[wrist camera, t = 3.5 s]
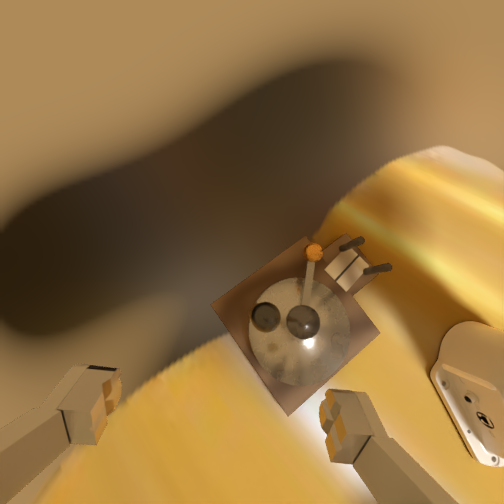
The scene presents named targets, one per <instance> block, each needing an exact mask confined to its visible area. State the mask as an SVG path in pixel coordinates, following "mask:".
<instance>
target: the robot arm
mask: <svg viewBox="0 0 504 504" xmlns="http://www.w3.org/2000/svg"><path fill="white" fill-rule="evenodd" d="M120 375H121V371H120V368H111V367H103V366H95V365H86V364H75V365H74V366H73V367H71V368H70V370H69V371H68V372H67V373H66V375H65V376H64V377H63V378H62V380H61V381H60V383H58V385H57V386H56V387H55V388H54V390H53V391H52V392H51V393H50V395H49V396H48V397H47V398H46V400H45V401H44V402H43V403H42V405H41V406H40V407H39V408H33V409H32V410H30V411H28V412H27V413H25V414H24V415H22V416H20V417H19V418H17V419H16V420H14V421H12V422H11V423H9V424H8V425H6V426H4V427H3V428H1V429H0V504H6V503H7V502H9V501H10V500H11V499H12V498H13V497H14V496H15V495H16V494H17V493H18V492H20V491H21V490H22V489H23V488H24V487H25V486H26V485H27V484H28V483H30V482H31V481H32V480H33V479H34V478H35V477H36V476H37V475H38V474H39V473H41V472H42V471H43V470H44V469H45V468H46V467H47V466H48V465H49V464H50V463H52V461H53V460H55V459H56V458H57V457H58V456H59V455H60V454H61V453H63V451H65V450H66V449H67V448H68V447H69V446H70V444H82V445H97V443H98V442H99V440H100V438H101V436H102V434H103V432H104V430H105V428H106V426H107V416H108V415H109V414H110V413H112V412H113V411H114V410H115V408H116V406H117V404H118V402H119V398H120V395H121V391H122V382H120V380H119V377H120ZM430 377H431V380H432V382H433V384H434V386H435V387H436V389H437V391H438V393H439V395H440V397H441V399H442V401H443V403H444V404H445V406H446V408H447V410H448V412H449V414H450V416H451V418H452V420H453V422H454V423H455V425H456V427H457V429H458V431H459V433H460V435H461V437H462V439H463V440H464V442H465V444H466V446H467V448H468V450H469V452H470V454H471V455H472V457H473V458H474V460H476V461H478V462H480V463H482V464H485V465H488V466H495V467H499V466H504V331H503V330H500V329H496V328H493V327H490V326H488V325H485V324H483V323H480V322H475V321H466V322H462V323H459V324H457V325H455V326H454V327H452V328H451V329H450V330H449V331H448V332H447V334H446V335H445V337H444V339H443V341H442V343H441V347H440V352H439V357H438V360H437V362H436V363H435V365H434V366H433V368H432V370H431V372H430ZM442 382H443V384H442ZM325 396H326V399H325V400H323V401H322V402H321V405H320V409H319V417H320V423H321V427H322V429H323V430H324V432H325V433H326V434H327V437H326V440H325V443H326V446H327V450H328V454H329V457H330V461H331V462H334V463H343V464H353V467H354V469H355V470H356V472H357V473H358V474H359V476H360V477H361V479H362V480H363V482H364V483H365V484H366V486H367V487H368V489H369V490H370V492H371V493H372V494H373V496H374V497H375V499H376V500H377V502H378V503H379V504H458V503H457V502H456V501H455V500H454V499H453V498H452V497H451V496H450V495H449V494H448V493H447V492H446V491H445V490H444V489H443V488H442V487H441V486H440V485H439V484H438V483H437V482H436V481H435V480H434V479H433V478H432V477H431V476H430V475H429V474H428V473H427V472H426V471H425V470H424V469H423V468H422V467H421V466H420V465H419V464H418V463H417V462H416V461H415V460H414V459H413V458H412V457H411V456H410V455H409V454H408V453H407V452H406V451H405V450H404V449H403V448H402V447H401V446H400V445H399V444H398V443H397V442H396V441H395V440H394V439H393V438H389V437H388V435H387V433H386V431H385V429H384V427H383V425H382V423H381V421H380V419H379V417H378V415H377V413H376V410H375V408H374V406H373V404H372V402H371V400H370V398H369V396H368V395H367V394H366V393H365V392H356V391H350V390H338V389H328V390H327V391H326V393H325Z"/></svg>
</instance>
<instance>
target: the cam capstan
mask: <svg viewBox="0 0 504 504" xmlns="http://www.w3.org/2000/svg"><path fill="white" fill-rule="evenodd" d="M303 256H304V258H305V259H306V260H307V261H306V268H305V275H304V278H289V279H285V280H282V281H279V282H277V283H275V284H273V285H271V286H270V287H268V288H267V289H266V290H265V291H264V292H263V293H262V294H261V295H260V296H259V298H258V299H257V300H256V302H255V304H253V305H252V306H251V307H250V308H249V310H248V316H249V325H248V334H249V340H250V344H251V348H252V350H253V353H254V355H255V357H256V358H257V360H258V362H259V363H260V365H261V366H262V367H263V368H264V369H265V370H266V372H267V373H269V374H270V375H271V376H272V377H274V378H276V379H277V380H279V381H281V382H284V383H286V384H290V385H296V386H307V385H312V384H316V383H319V382H321V381H323V380H325V379H326V378H328V377H329V376H331V375H332V374H333V373H334V372H335V371H336V370H337V369H338V367H339V366H340V365H341V363H342V362H343V360H344V358H345V356H346V354H347V351H348V347H349V342H350V324H349V319H348V316H347V313H346V310H345V308H344V306H343V304H342V303H341V301H340V300H339V298H338V297H337V296H336V295H335V294H334V293H333V292H332V291H331V290H330V289H329V288H328V287H326V286H325V285H323V284H321V283H319V282H317V281H315V280H313V275H314V267H315V262H317V261H319V260H320V259H321V258H322V256H323V249H322V247H321V246H320V245H319V244H317V243H309V244H307V245H306V246H305V247H304V249H303Z"/></svg>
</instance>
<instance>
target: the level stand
mask: <svg viewBox="0 0 504 504" xmlns="http://www.w3.org/2000/svg"><path fill="white" fill-rule="evenodd" d="M364 242H365V239H364V238H363V237H361V236H360V237H358V238H356V239H353V240H352V239H351V238H350V237H349V236H348V234H347V233H346V234H344V235H342V236H341V237H340V238H338V239H337V240H336V241H334V242H333V243H332V244H330V245H329V246H328V247H326V248H325V249H324V250H323V256H322V258H321V259H320V260H319V261H317V262H315V267H314V275H313V280H315V281H317V282H319V283H321V284H323V285H325V286H326V287H328V288H329V289H330V290H331V291H332V292H333V293H334V294H335V295H336V296H337V297H338V298H339V300H340V301H341V303H342V304H343V306H344V308H345V310H346V313H347V316H348V319H349V324H350V342H349V347H348V351H347V354H346V356H345V358H344V360H343V362H342V363H341V365H340V366H339V367H338V369H337V370H336V371H335V372H334V373H333V374H332V375H331V376H329V377H328V378H326V379H325V380H323V381H321V382H319V383H316V384H312V385H307V386H296V385H290V384H286V383H284V382H281V381H279V380H277V379H276V378H274V377H272V376H271V375H270V374H269V373H267V372H266V370H265V369H264V368H263V367H262V366H261V365H260V363H259V362H258V360H257V358H256V357H255V355H254V353H253V350H252V348H251V344H250V340H249V334H248V325H249V316H248V310H249V308H250V307H251V306H252V305H253V304H255V302H256V300H257V299H258V298H259V296H260V295H261V294H262V293H263V292H264V291H265V290H266V289H267V288H268V287H270V286H271V285H273V284H275V283H277V282H279V281H282V280H285V279H289V278H304V275H305V268H306V261H307V260H306V259H305V258H304V256H303V249H304V247H305V246H306V245H307V244H309V243H311V242H310V241H309V239H308V238H307V237H306V236H304V237H303V238H302V239H300V240H299V241H297V242H296V243H294V244H293V245H292V246H290V247H289V248H288V249H286V250H285V251H283V252H282V253H281V254H280V255H278V256H277V257H275V258H274V259H272V260H271V261H270V262H268V263H267V264H266V265H264V266H263V267H261V268H260V269H259V270H257V271H256V272H255V273H253V274H252V275H250V276H249V277H248V278H247V279H245V280H244V281H242V282H241V283H239V284H238V285H237V286H235V287H234V288H233V289H231V290H230V291H228V292H227V293H226V294H224V295H223V296H222V297H220V298H219V299H218V300H216V301H215V302H213V303H212V304H211V306H212V308H213V309H214V311H215V312H216V313H217V315H218V316H219V318H220V319H221V321H222V322H223V324H224V325H225V326H226V328H227V329H228V331H229V332H230V334H231V335H232V337H233V338H234V339H235V341H236V342H237V344H238V345H239V347H240V348H241V350H242V351H243V352H244V354H245V355H246V357H247V358H248V360H249V361H250V363H251V364H252V365H253V367H254V368H255V370H256V371H257V373H258V374H259V376H260V377H261V378H262V380H263V381H264V383H265V384H266V386H267V387H268V389H269V390H270V391H271V393H272V394H273V396H274V397H275V399H276V400H277V402H278V403H279V404H280V406H281V407H282V409H283V410H284V412H285V413H286V415H287V416H289V415H291V414H292V413H293V412H294V411H295V410H296V409H297V408H298V407H299V406H301V405H302V404H303V403H304V402H305V401H306V400H307V399H308V398H309V397H310V396H312V395H313V394H314V393H315V392H316V391H317V390H318V389H319V388H320V387H322V386H323V385H324V384H325V383H326V382H327V381H328V380H329V379H330V378H331V377H333V376H334V375H335V374H336V373H337V372H338V371H339V370H340V369H341V368H343V367H344V366H345V365H346V364H347V363H348V362H349V361H350V360H351V359H352V358H354V357H355V356H356V355H357V354H358V353H359V352H360V351H361V350H362V349H363V348H365V347H366V346H367V345H368V344H369V343H370V342H371V341H372V340H373V339H375V338H376V337H377V336H378V335H379V334H380V332H379V330H378V329H377V328H376V326H375V325H374V324H373V322H372V321H371V320H370V319H369V317H368V316H367V315H366V313H365V312H364V311H363V310H362V308H361V307H360V306H359V304H358V303H357V302H356V300H355V299H354V298H353V297H352V296H353V295H354V294H355V293H357V292H358V291H359V290H360V289H361V288H363V287H364V286H365V285H366V284H367V283H369V282H370V281H371V280H372V279H373V278H375V277H376V276H377V275H378V274H379V273H381V272H387V271H391V270H392V265H391V264H389V263H386V264H382V265H377V266H372V265H371V263H370V262H369V261H368V260H367V258H366V257H365V256H364V254H363V253H362V252H361V251H360V249H359V248H358V247H357V246H359V245H361V244H363V243H364Z"/></svg>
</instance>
